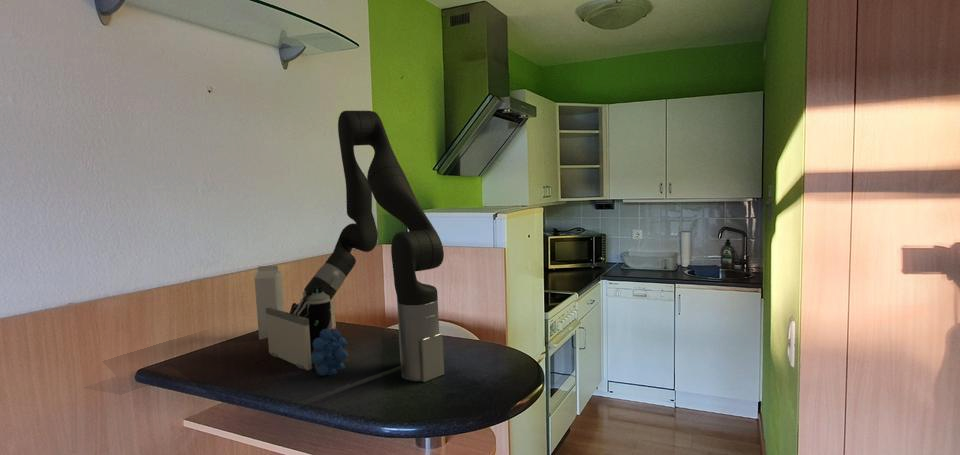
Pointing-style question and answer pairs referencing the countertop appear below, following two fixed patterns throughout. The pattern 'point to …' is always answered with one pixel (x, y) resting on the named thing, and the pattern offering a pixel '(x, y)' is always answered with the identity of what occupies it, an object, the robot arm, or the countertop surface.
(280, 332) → the cream thin rectangular board
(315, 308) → the spray can
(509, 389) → the countertop surface
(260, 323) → the milk
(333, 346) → the grapes
